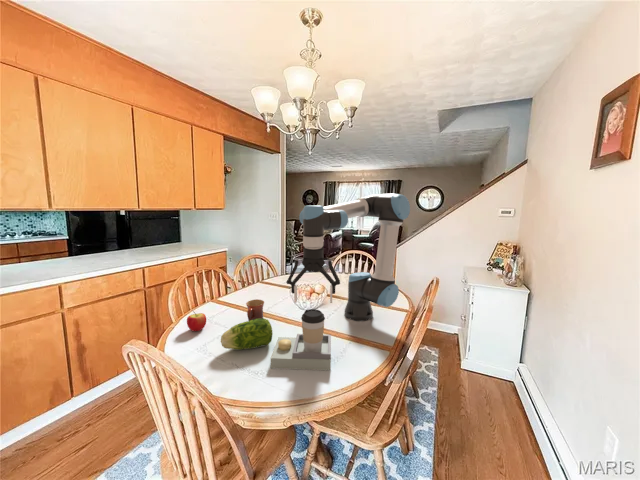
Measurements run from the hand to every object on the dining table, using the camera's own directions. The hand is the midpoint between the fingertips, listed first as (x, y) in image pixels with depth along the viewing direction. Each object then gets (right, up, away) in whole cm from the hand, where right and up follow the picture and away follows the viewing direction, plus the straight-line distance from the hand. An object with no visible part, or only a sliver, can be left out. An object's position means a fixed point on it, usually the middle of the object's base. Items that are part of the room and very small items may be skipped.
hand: (313, 301), depth 102 cm
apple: (-55, -19, +23) cm, 63 cm away
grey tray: (-4, -23, +2) cm, 23 cm away
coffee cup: (0, -19, +2) cm, 19 cm away
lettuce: (-28, -22, +9) cm, 36 cm away
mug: (-30, -18, +30) cm, 46 cm away
